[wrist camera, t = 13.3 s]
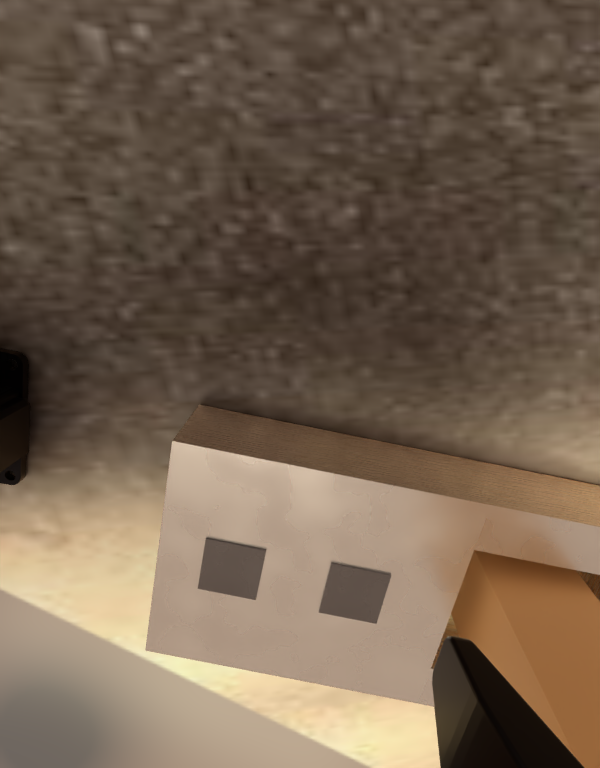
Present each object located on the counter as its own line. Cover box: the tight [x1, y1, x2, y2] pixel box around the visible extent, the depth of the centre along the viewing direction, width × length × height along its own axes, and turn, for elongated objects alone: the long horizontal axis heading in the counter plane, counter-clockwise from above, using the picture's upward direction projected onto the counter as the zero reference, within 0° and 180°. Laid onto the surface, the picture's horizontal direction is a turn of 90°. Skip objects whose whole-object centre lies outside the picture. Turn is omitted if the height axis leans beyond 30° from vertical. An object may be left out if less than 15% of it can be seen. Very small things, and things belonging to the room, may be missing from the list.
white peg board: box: [146, 405, 600, 706], centre depth 21 cm, size 20×10×4 cm, turn 79°
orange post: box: [451, 550, 600, 768], centre depth 17 cm, size 4×4×13 cm
